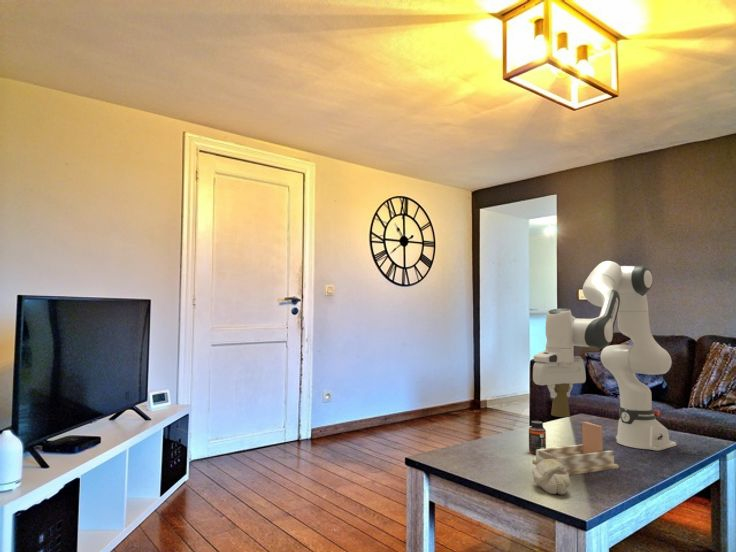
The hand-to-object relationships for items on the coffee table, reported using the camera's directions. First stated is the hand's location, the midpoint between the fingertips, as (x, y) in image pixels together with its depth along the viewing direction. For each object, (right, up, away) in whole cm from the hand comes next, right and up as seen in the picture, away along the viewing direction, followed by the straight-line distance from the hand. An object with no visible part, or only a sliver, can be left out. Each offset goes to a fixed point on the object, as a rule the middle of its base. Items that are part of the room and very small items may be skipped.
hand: (560, 397), depth 161 cm
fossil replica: (-11, -22, -22) cm, 33 cm away
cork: (0, -6, -1) cm, 6 cm away
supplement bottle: (-2, -25, +15) cm, 29 cm away
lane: (+5, -23, +1) cm, 24 cm away
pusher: (+13, -23, +4) cm, 26 cm away
